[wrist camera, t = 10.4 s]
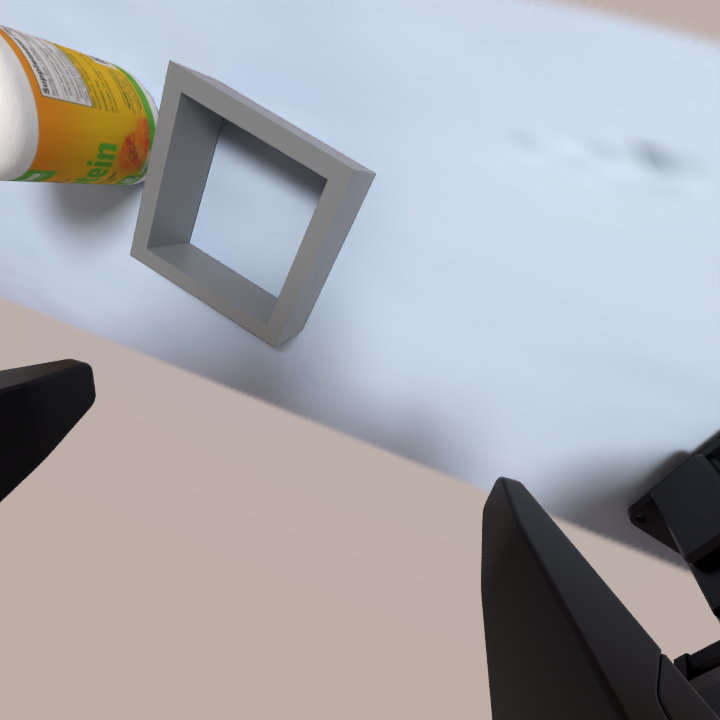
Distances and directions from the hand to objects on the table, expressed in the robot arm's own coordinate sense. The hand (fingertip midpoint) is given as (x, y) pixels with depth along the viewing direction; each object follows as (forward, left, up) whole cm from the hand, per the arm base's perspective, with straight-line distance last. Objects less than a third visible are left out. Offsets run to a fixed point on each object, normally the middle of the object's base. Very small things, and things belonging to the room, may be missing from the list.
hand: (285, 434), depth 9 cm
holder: (+8, 0, -12) cm, 15 cm away
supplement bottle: (+17, 0, -13) cm, 21 cm away
